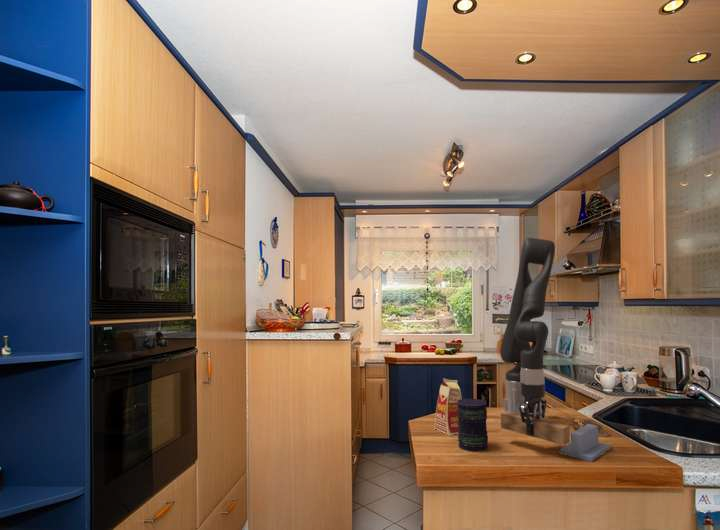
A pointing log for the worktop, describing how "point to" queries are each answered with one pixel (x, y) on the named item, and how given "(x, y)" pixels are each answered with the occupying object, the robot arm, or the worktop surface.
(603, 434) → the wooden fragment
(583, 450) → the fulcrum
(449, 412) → the milk carton
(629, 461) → the worktop surface
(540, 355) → the robot arm
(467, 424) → the storage jar
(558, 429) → the beam
